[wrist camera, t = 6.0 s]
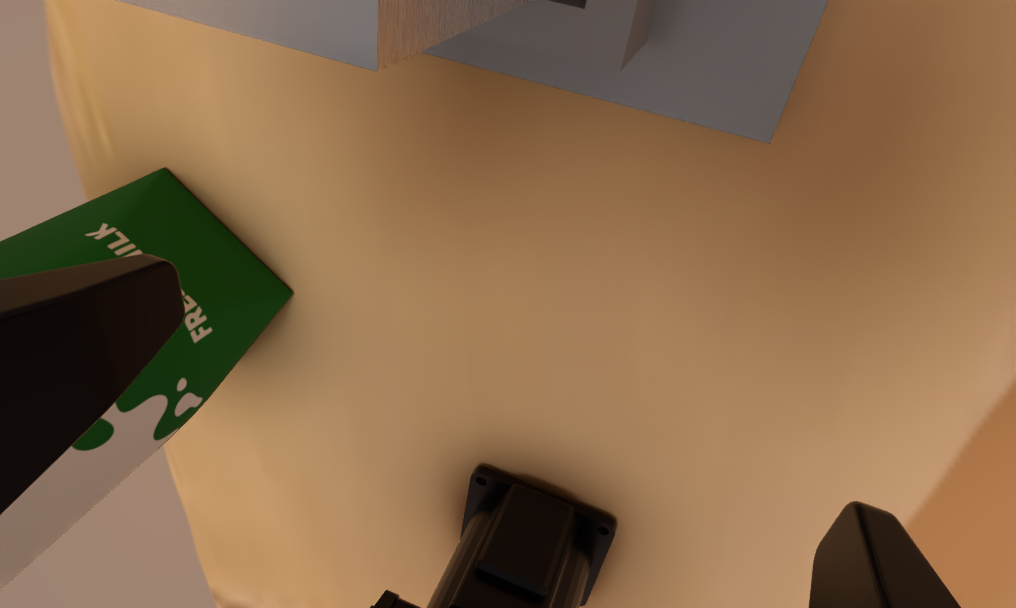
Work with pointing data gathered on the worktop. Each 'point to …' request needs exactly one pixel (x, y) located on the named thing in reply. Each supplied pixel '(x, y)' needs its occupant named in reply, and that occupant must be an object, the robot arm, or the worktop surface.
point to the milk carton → (174, 369)
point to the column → (341, 23)
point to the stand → (655, 54)
